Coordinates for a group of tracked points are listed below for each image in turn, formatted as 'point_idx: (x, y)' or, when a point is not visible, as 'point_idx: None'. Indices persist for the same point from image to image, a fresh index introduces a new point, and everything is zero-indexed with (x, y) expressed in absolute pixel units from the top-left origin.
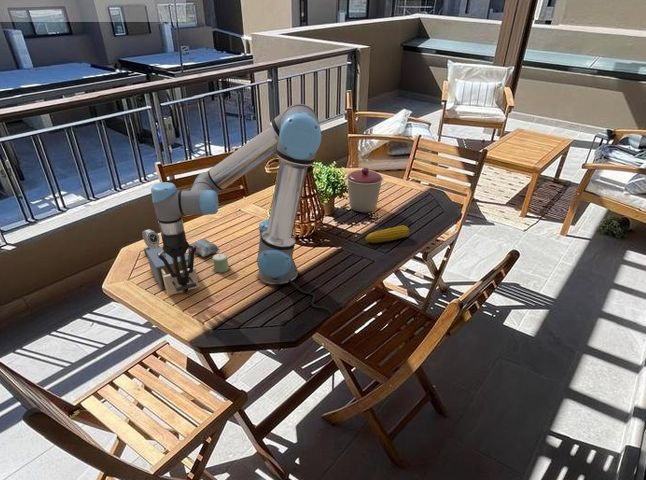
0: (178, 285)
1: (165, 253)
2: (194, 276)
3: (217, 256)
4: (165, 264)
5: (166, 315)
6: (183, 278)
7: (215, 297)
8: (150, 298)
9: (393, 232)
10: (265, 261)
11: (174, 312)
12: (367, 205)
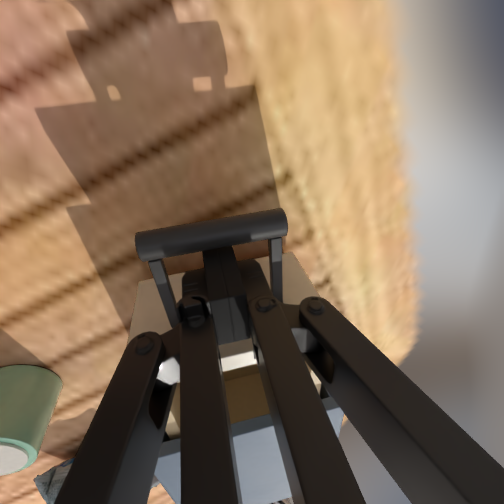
0: None
1: (266, 479)
2: (144, 330)
3: (3, 461)
4: (474, 449)
5: (347, 91)
6: (227, 289)
7: (35, 162)
8: (350, 261)
9: None
10: None
11: (302, 102)
12: None
